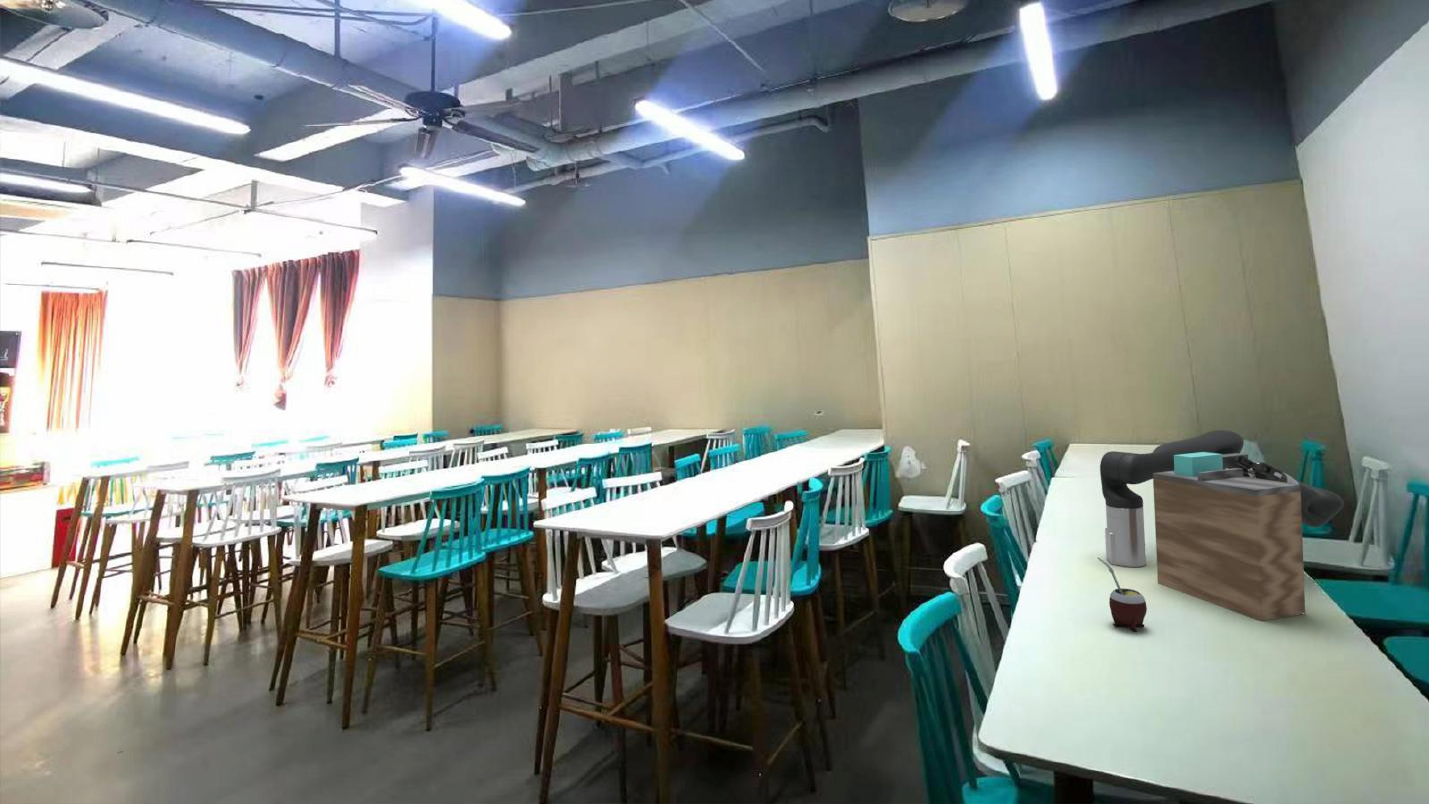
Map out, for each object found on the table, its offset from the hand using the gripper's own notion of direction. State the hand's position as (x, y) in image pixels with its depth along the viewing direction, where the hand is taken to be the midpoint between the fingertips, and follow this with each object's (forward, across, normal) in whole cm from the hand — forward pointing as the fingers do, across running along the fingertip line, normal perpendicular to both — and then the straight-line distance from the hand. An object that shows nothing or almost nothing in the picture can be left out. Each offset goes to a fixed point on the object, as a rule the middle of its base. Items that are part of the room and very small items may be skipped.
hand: (1224, 456), depth 154 cm
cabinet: (-9, +7, +34) cm, 36 cm away
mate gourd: (+21, +13, +51) cm, 57 cm away
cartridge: (+1, 0, +5) cm, 5 cm away
